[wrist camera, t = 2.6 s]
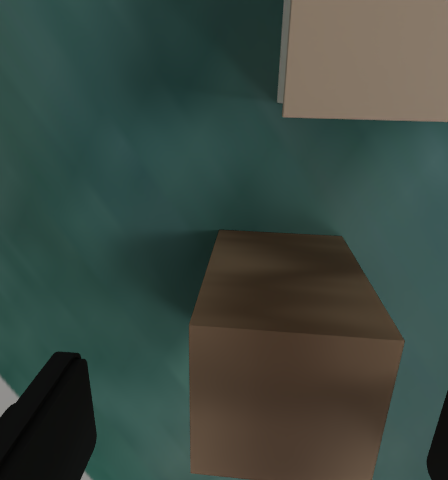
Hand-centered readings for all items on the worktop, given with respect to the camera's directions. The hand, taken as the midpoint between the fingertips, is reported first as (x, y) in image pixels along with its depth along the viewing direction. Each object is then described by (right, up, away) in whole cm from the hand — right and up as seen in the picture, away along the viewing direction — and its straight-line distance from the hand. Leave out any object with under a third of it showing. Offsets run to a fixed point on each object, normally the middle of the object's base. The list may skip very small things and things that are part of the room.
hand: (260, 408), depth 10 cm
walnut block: (+1, +2, +6) cm, 7 cm away
